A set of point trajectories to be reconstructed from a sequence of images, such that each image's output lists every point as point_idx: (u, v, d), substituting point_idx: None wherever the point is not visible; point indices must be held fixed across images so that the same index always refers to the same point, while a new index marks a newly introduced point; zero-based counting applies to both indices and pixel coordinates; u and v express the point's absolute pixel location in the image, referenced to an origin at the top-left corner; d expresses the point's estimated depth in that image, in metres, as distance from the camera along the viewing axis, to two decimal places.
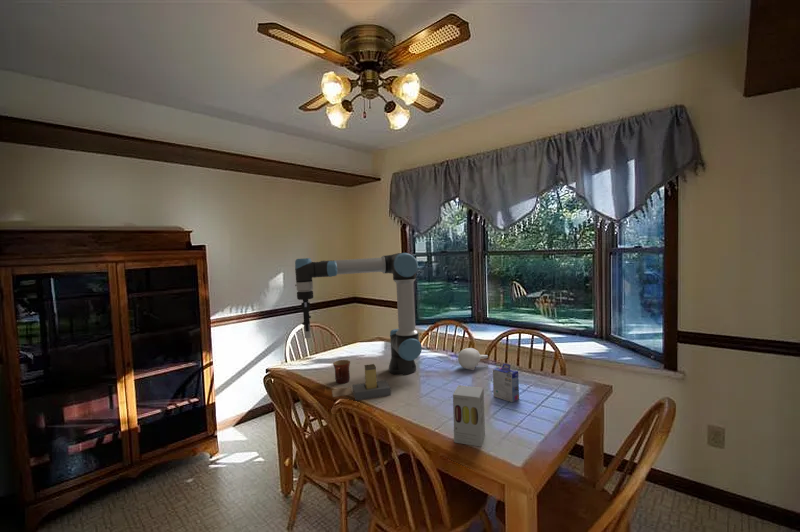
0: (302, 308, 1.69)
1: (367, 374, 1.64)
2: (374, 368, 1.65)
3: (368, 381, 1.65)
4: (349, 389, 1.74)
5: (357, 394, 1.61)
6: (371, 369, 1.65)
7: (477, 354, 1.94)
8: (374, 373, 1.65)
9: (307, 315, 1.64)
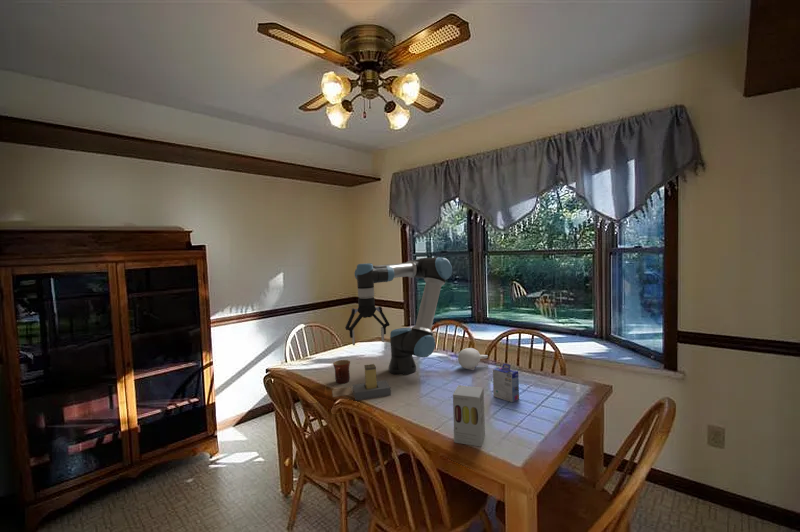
0: (359, 314, 1.66)
1: (367, 374, 1.64)
2: (374, 368, 1.65)
3: (368, 381, 1.65)
4: (349, 389, 1.74)
5: (357, 394, 1.61)
6: (371, 369, 1.65)
7: (477, 354, 1.94)
8: (374, 373, 1.65)
9: (348, 321, 1.63)
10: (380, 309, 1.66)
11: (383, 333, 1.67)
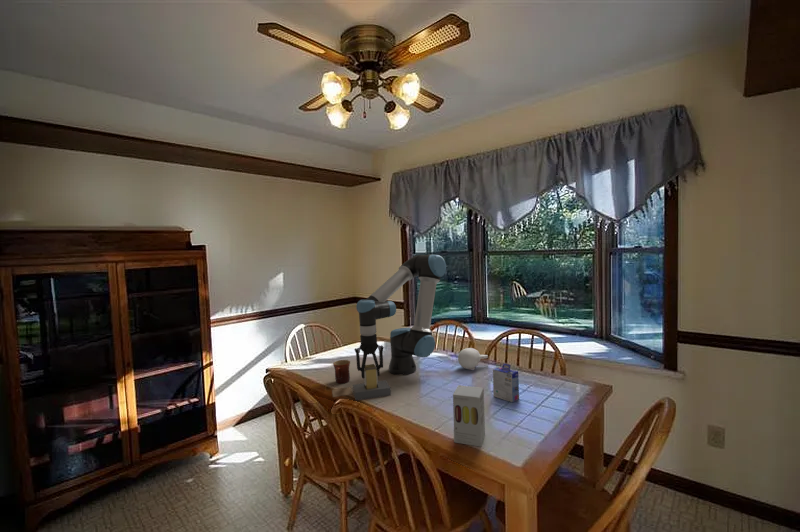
0: None
1: (367, 374, 1.64)
2: (374, 368, 1.65)
3: (368, 381, 1.65)
4: (349, 389, 1.74)
5: (357, 394, 1.61)
6: (371, 369, 1.65)
7: (477, 354, 1.94)
8: (374, 373, 1.65)
9: (357, 362, 1.65)
10: (381, 349, 1.67)
11: (377, 375, 1.66)
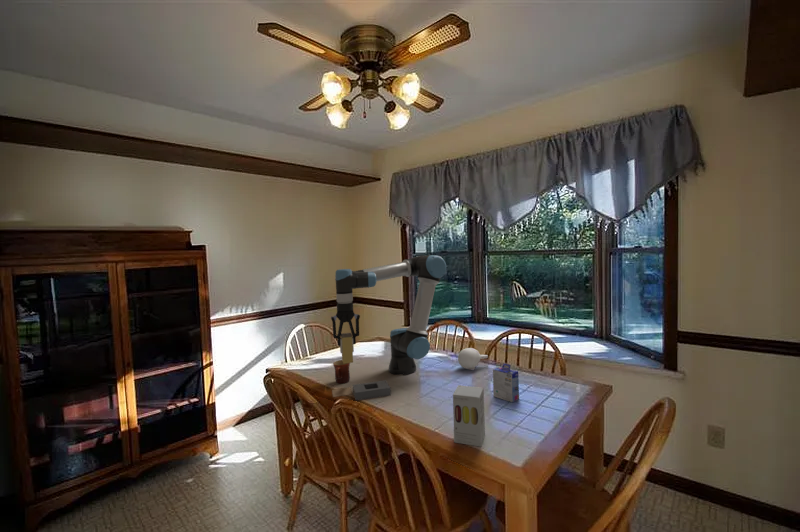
0: (340, 320, 1.69)
1: (343, 341, 1.66)
2: (350, 336, 1.67)
3: (344, 349, 1.66)
4: (349, 389, 1.74)
5: (357, 394, 1.61)
6: (347, 336, 1.66)
7: (477, 354, 1.94)
8: (350, 341, 1.67)
9: (333, 330, 1.66)
10: (358, 317, 1.69)
11: (353, 343, 1.68)
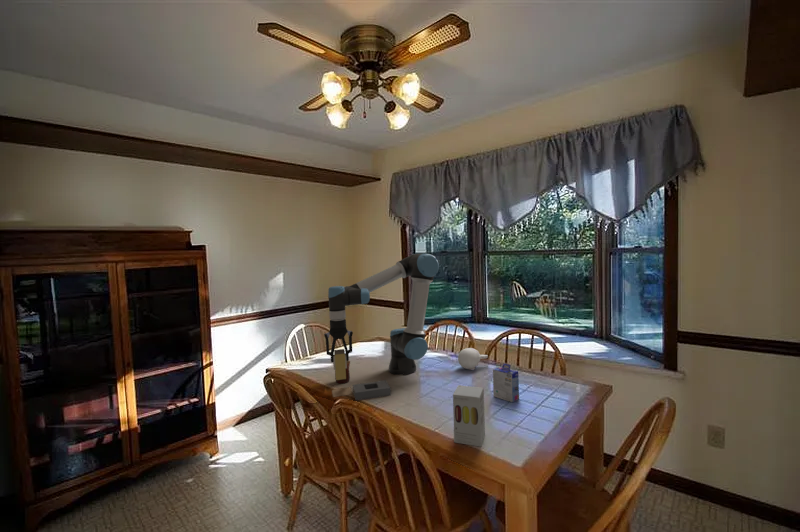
0: (333, 337, 1.71)
1: (336, 358, 1.68)
2: (343, 353, 1.68)
3: (337, 365, 1.68)
4: (349, 389, 1.74)
5: (357, 394, 1.61)
6: (340, 353, 1.68)
7: (477, 354, 1.94)
8: (343, 357, 1.68)
9: (326, 347, 1.68)
10: (350, 334, 1.70)
11: (346, 359, 1.70)
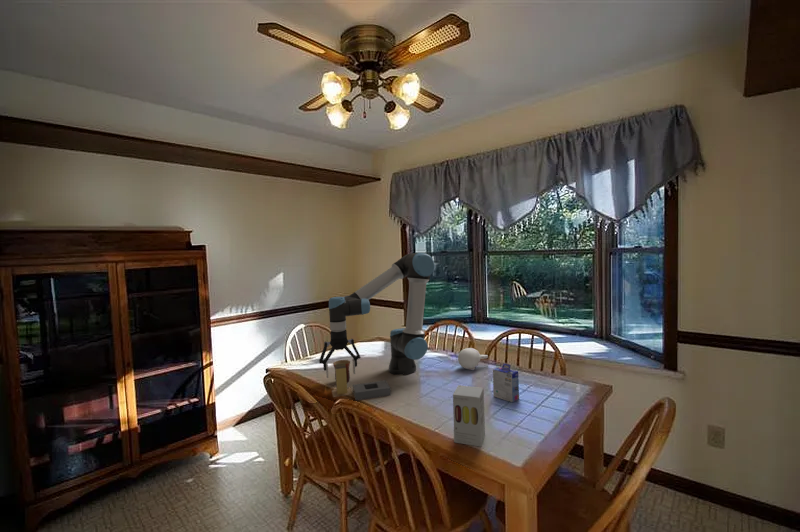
0: (332, 346, 1.71)
1: (337, 373, 1.68)
2: (344, 367, 1.69)
3: (338, 380, 1.68)
4: (349, 389, 1.74)
5: (357, 394, 1.61)
6: (341, 367, 1.68)
7: (477, 354, 1.94)
8: (344, 372, 1.69)
9: (321, 355, 1.68)
10: (352, 342, 1.70)
11: (354, 366, 1.71)
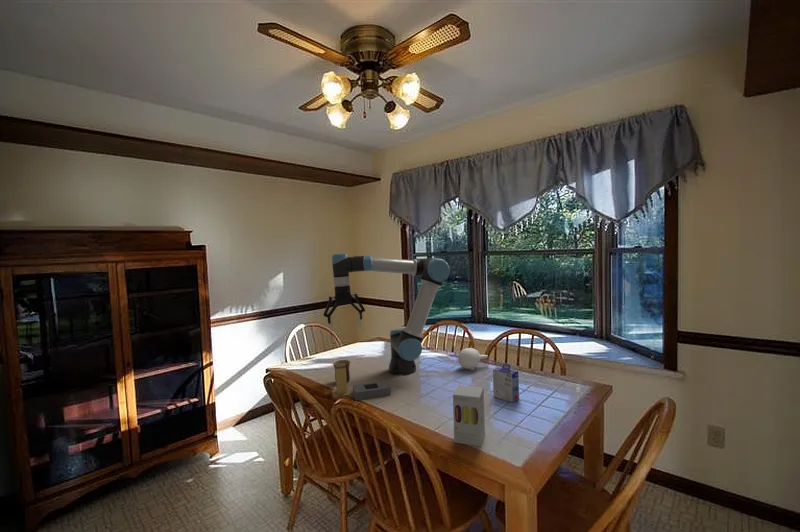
0: None
1: (337, 373, 1.68)
2: (344, 367, 1.69)
3: (338, 380, 1.68)
4: (349, 389, 1.74)
5: (357, 394, 1.61)
6: (341, 367, 1.68)
7: (477, 354, 1.94)
8: (344, 372, 1.69)
9: (326, 309, 1.74)
10: (356, 296, 1.77)
11: (359, 318, 1.78)
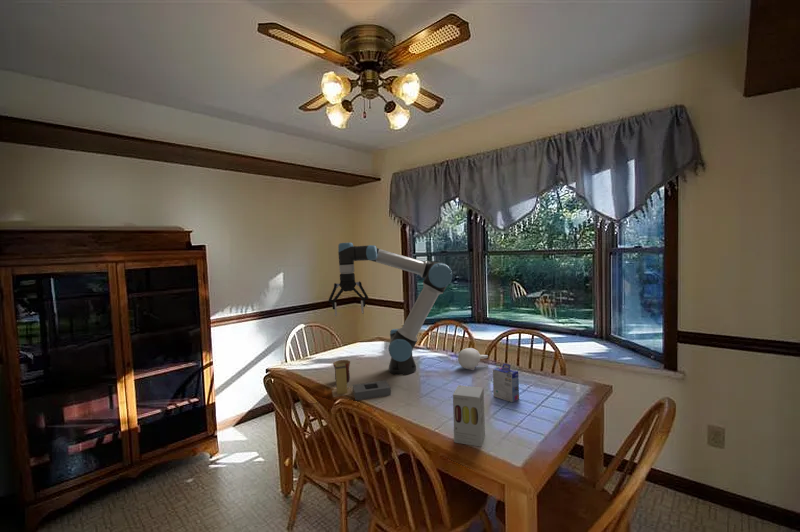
0: (341, 288, 1.85)
1: (337, 373, 1.68)
2: (344, 367, 1.69)
3: (338, 380, 1.68)
4: (349, 389, 1.74)
5: (357, 394, 1.61)
6: (341, 367, 1.68)
7: (477, 354, 1.94)
8: (344, 372, 1.69)
9: (330, 295, 1.82)
10: (360, 284, 1.84)
11: (362, 305, 1.85)
